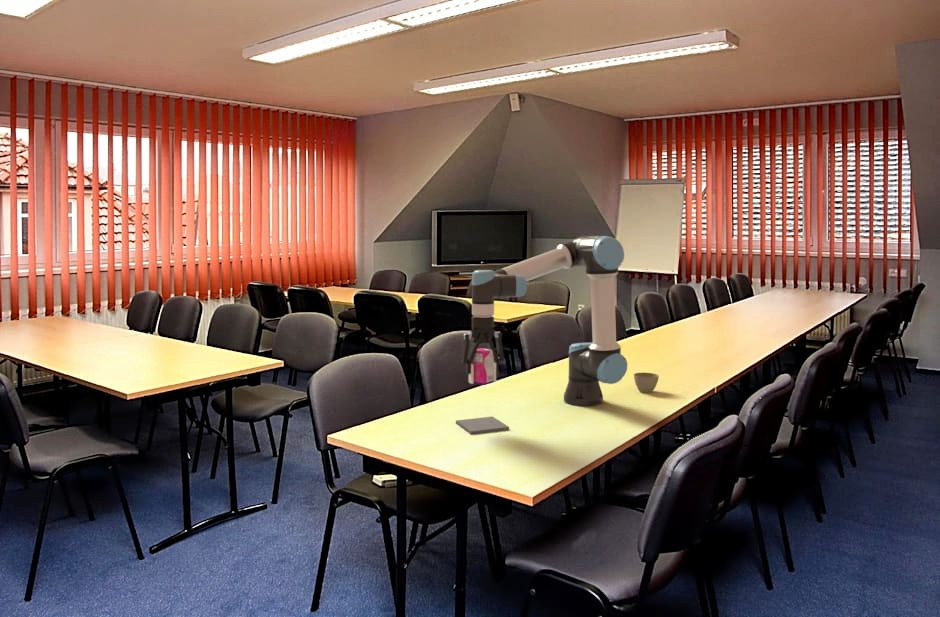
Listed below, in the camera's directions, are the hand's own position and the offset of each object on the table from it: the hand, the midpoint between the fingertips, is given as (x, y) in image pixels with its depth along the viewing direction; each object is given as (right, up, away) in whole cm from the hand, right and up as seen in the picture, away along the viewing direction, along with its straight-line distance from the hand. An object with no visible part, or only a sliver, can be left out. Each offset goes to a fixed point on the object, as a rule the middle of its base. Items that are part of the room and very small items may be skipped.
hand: (482, 381), depth 252 cm
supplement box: (0, -1, 0) cm, 0 cm away
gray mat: (0, -16, +2) cm, 16 cm away
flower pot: (+68, -9, +51) cm, 85 cm away
